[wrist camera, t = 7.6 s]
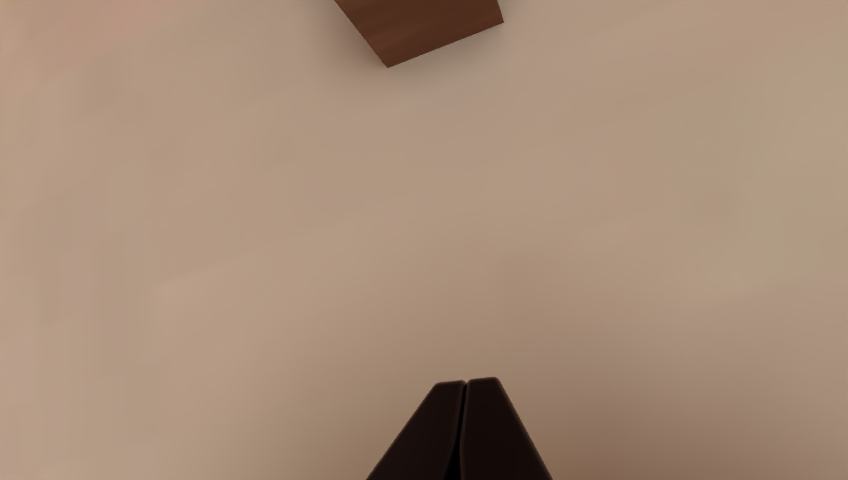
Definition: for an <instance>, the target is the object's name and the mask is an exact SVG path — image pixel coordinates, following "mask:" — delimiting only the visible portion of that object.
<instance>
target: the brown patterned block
mask: <svg viewBox="0 0 848 480" xmlns="http://www.w3.org/2000/svg"><path fill="white" fill-rule="evenodd" d="M335 2H336V3H337V4H338V5H339V7H340V8H341V9H342V11H343V12H344V13H345V14H346V16H347V17H348V18H349V19H350V21H351V22H352V23H353V25H354V26H355V27H356V28H357V30H358V31H359V32H360V33H361V35H362V36H363V37H364V39H365V40H366V41H367V42H368V44H369V45H370V46H371V47H372V49H373V50H374V51H375V53H376V54H377V55H378V56H379V58H380V59H381V60H382V62H383V63H384V64H385V65H386V67H387V68H389V67H392V66H394V65H397V64H399V63H402V62H404V61H407V60H409V59H412V58H415V57H417V56H420V55H422V54H425V53H427V52H430V51H432V50H435V49H437V48H440V47H443V46H445V45H448V44H450V43H453V42H455V41H458V40H460V39H463V38H465V37H468V36H471V35H473V34H476V33H478V32H481V31H483V30H486V29H488V28H491V27H493V26H496V25H499V24H501V23H504V21H503V18H502V14H501V11H500V8H499V5H498V2H497V0H335Z"/></svg>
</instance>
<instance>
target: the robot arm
mask: <svg viewBox="0 0 848 480" xmlns="http://www.w3.org/2000/svg"><path fill="white" fill-rule="evenodd" d="M366 480H553V479H552V477H551V475H550V473H549V471H548V469H547V468H546V466H545V464H544V462H543V460H542V458H541V457H540V455H539V453H538V451H537V449H536V447H535V445H534V444H533V442H532V440H531V438H530V436H529V434H528V432H527V431H526V429H525V427H524V425H523V423H522V421H521V419H520V418H519V416H518V414H517V412H516V410H515V408H514V406H513V405H512V403H511V401H510V399H509V397H508V395H507V393H506V392H505V390H504V388H503V386H502V384H501V382H500V381H499V379H498V378H496V377H486V378H477V379H470V380H469V381H468V382H467V383H466V382H465V381H463V380H457V381H448V382H440V383H437V384H435V385H434V386H433V387H432V389H431V390H430V392H429V393H428V394H427V396H426V397H425V399H424V400H423V401H422V403H421V404H420V405H419V407H418V408H417V410H416V411H415V412H414V414H413V415H412V417H411V418H410V419H409V421H408V422H407V424H406V425H405V426H404V428H403V429H402V430H401V432H400V433H399V435H398V436H397V437H396V439H395V440H394V442H393V443H392V444H391V446H390V447H389V448H388V450H387V451H386V453H385V454H384V455H383V457H382V458H381V460H380V461H379V462H378V464H377V465H376V467H375V468H374V469H373V471H372V472H371V473H370V475H369V476H368V478H367V479H366Z"/></svg>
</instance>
